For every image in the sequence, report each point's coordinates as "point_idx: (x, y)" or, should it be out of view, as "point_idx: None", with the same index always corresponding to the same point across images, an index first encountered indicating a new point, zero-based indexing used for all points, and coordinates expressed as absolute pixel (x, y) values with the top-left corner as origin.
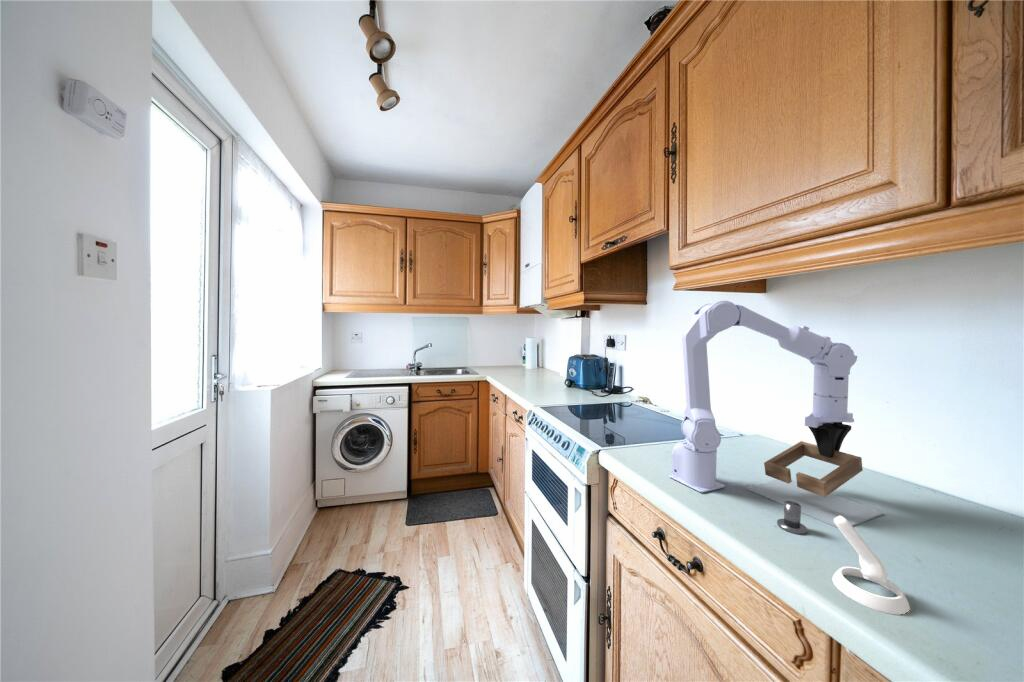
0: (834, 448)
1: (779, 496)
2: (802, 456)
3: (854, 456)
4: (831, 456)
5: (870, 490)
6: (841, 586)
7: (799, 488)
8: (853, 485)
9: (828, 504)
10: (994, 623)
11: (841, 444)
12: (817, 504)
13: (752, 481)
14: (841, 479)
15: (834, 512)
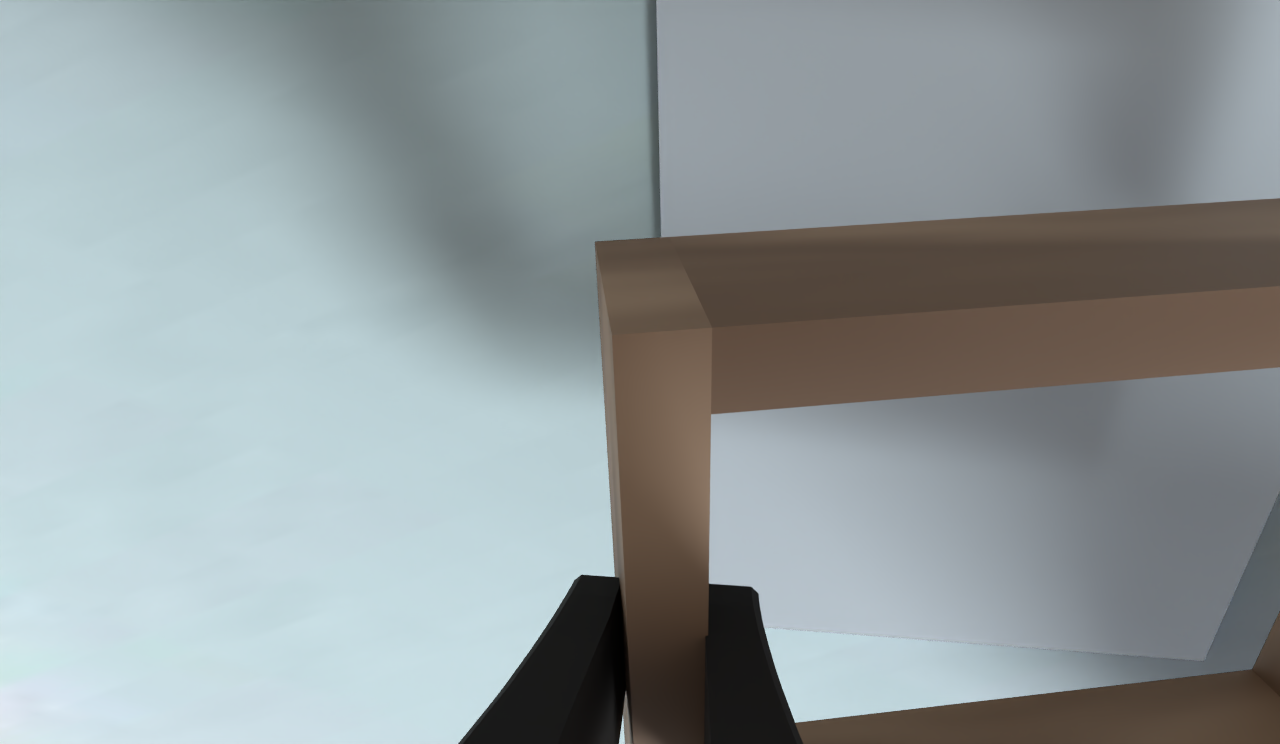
0: (723, 691)
1: (1165, 489)
2: None
3: (652, 416)
4: (747, 596)
5: (219, 254)
6: None
7: (807, 493)
8: (261, 355)
9: None
10: None
11: (485, 712)
12: None
13: (977, 683)
14: (1213, 233)
15: (1126, 141)
